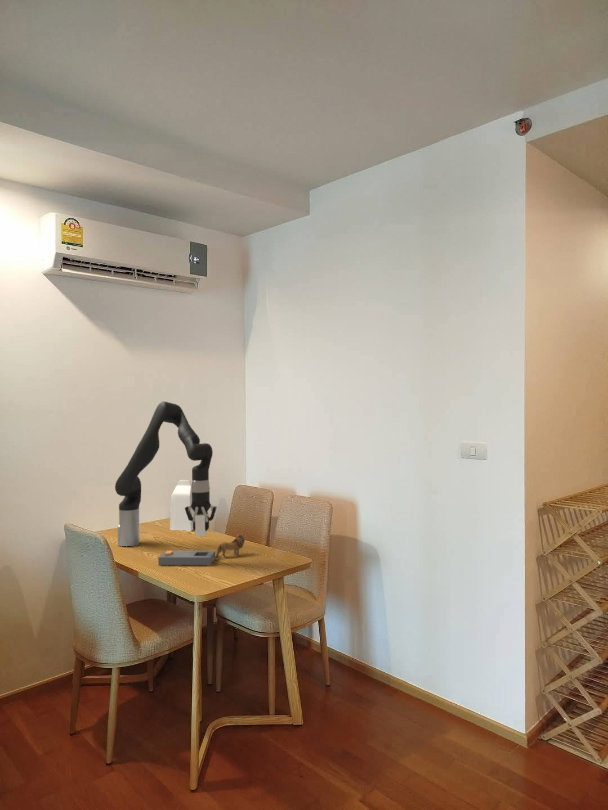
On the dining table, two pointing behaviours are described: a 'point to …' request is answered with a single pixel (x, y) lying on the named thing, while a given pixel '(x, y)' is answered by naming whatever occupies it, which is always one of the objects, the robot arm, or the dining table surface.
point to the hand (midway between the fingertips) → (201, 530)
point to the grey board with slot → (186, 558)
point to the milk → (181, 506)
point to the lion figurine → (231, 546)
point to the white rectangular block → (200, 525)
